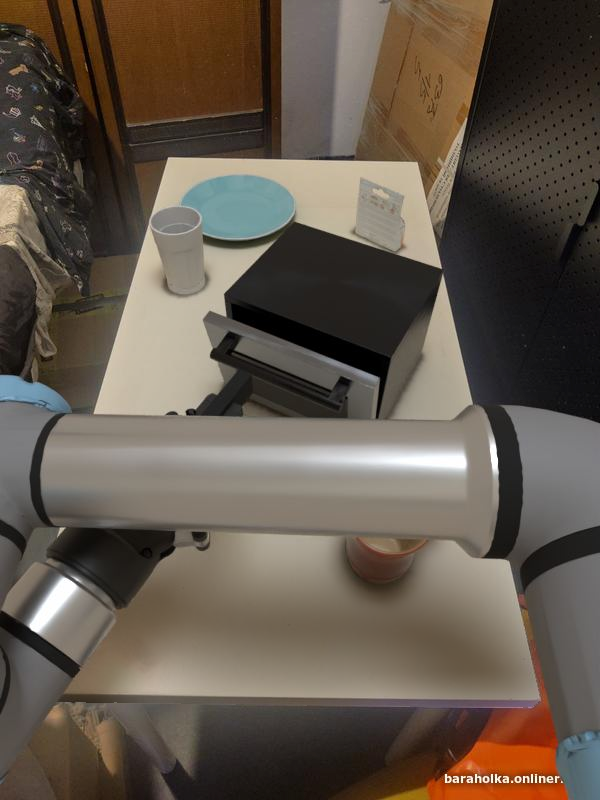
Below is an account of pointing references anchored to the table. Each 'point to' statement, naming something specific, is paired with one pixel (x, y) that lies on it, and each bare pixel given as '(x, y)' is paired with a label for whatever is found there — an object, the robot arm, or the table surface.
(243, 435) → the robot arm
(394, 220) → the ink box
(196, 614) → the table surface
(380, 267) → the box
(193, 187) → the plate
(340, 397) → the door
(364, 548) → the mug
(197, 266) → the cup
